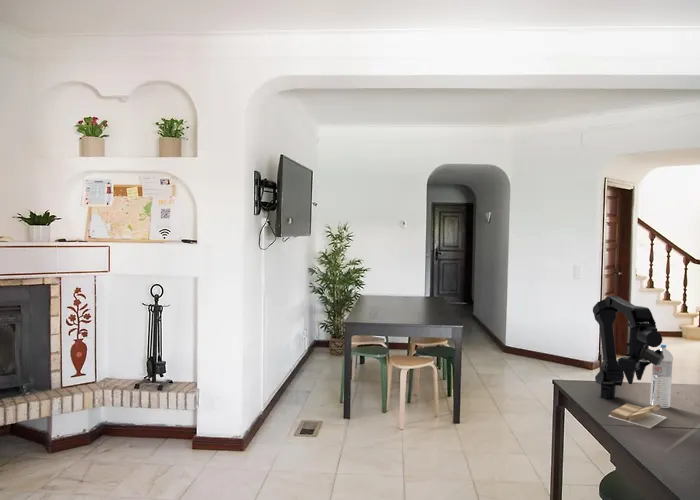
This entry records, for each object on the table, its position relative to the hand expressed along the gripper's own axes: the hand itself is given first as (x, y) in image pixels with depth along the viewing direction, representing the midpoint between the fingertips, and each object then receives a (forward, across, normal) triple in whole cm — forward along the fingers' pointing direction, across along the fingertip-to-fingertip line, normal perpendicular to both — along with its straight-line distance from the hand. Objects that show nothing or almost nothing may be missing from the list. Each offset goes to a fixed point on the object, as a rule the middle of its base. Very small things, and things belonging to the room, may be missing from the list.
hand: (634, 381), depth 188 cm
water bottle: (+13, +19, -3) cm, 23 cm away
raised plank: (+10, -2, -5) cm, 12 cm away
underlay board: (+13, -2, -2) cm, 13 cm away
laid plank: (+12, -2, +1) cm, 12 cm away
